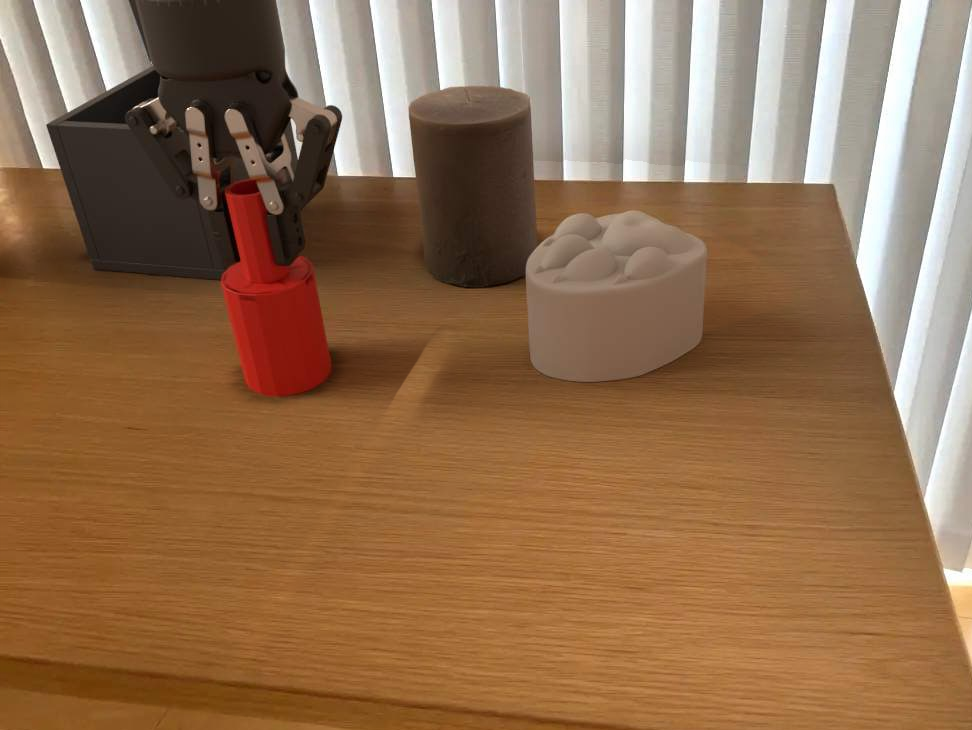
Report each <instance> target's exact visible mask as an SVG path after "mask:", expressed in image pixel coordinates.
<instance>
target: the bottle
mask: <svg viewBox="0 0 972 730" xmlns="http://www.w3.org/2000/svg"><path fill="white" fill-rule="evenodd" d="M225 196H226V200H227V204H228V209H229V213H230V217H231V221H232V226H233V230H234V234H235V239H236V243H237V247H238V251H239V256H240V260H241V261H240V262H239V263H236V264H234V265H232V266H231V267H229V268H228V269H227V270H226V271H225V272H224V273H223V274H222V279H221V280H220V285H221V290H222V293H223V297H224V302H225V305H226V310H227V313H228V317H229V322H230V325H231V329H232V330H231V331H232V333H233V334H232V335H233V337H234V342H235V346H236V350H237V353H238V357H239V362H240V365H241V370H242V373H243V379H244V382H245V384H246V386H248V388H249V390H250V391H253V392H255V393H257V394H259V395H261V396H269V397H286V396H295V395H298V394H301V393H303V392H307V391H310V390H313V389H314V388H316V387H317V386H319V385H320V384H322V383H323V382H324V381H326V379H327V378H328V377H329V375H331V372H332V361H331V355H330V350H329V345H328V338H327V333H326V329H325V323H324V318H323V313H322V308H321V307H322V306H321V302H320V297H319V291H318V286H317V280H316V276H315V270H314V264H312V263H311V261H310V260H308V258H306V257H305V256H300V255H299V256H298V258H297V259H296V260H295V261H294V262H293V263H292V264H291V265H290V266H278V265H277V264H276V262H275V258H274V253H273V248H272V244H271V239H270V234H269V229H268V225H267V220H266V214H267V213H268V212H269V211H268V210H267V209H266V207H265V204H264V201H263V199H262V196H261V193H260V191H259V188H258V185H257V183H256V182H255V181H253V180H251V179H245V180H240V181H237V182H234V183H231V184H230V185H229V186H227V187H226V188H225Z"/></svg>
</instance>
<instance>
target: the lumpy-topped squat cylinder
mask: <svg viewBox="0 0 972 730" xmlns="http://www.w3.org/2000/svg"><path fill="white" fill-rule="evenodd" d="M537 246H538V247H537V248H536V249H535V250H534V251H533V252H532V254H531V255H530V256H529V258H528V261H527V264H526V275H525V289H526V290H525V291H526V309H527V325H528V326H527V327H528V342H529V343H528V345H529V360H530V363H531V365H532V366H533V368H534V369H535V370H537V371H538V372H540V373H541V374H543V375H544V376H547V377H549V378H554V379H557V380H563V381H569V382H578V383H596V382H597V383H598V382H610V381H618V380H625V379H626V380H627V379H632V378H636V377H640V376H642V375H645V374H649V373H650V372H652V371H654V370H657V369H659V368H661V367H663V366H666V365H668V364H670V363H672V362H673V361H675V360H677V359H679V358H680V357H682V356H683V355H686V354H687V353H689V352H690V351H692V350H693V349H695V348H696V347H697V346H698V345H699V344H700V343H701V341H702V338H703V330H704V328H703V327H704V311H705V296H706V294H705V293H706V278H707V260H708V259H707V258H708V249H707V245H706V243H705V242H704V241H703V240H702V239H701V238H700V237H697V236H696V235H693V234H691V233H687V232H685V231H683V230H681V229H680V228H679V227H677V226H674V225H670V224H667V223H664V222H662V221H661V220H659V219H657V218H656V217H654V216H652V215H649V214H647V213H645V212H643V211H640V210H627V211H625V212H624V211H623V212H622V213H621V212H620V213H612V214H607V215H603V216H599V217H594V216H593V215H591V214H590V213H586V212H585V213H583V212H582V213H581V212H580V213H575V214H572V215H570V216H568V217H566V218H564V219H563V220H562V221H561V223H560V224H559V225H558V226H557V228H556V230H555V232H554V234H552V235H550V236H548V237H547V238H545V239H544V240H543V241H542V242H540V243H539V244H538V245H537Z"/></svg>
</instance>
